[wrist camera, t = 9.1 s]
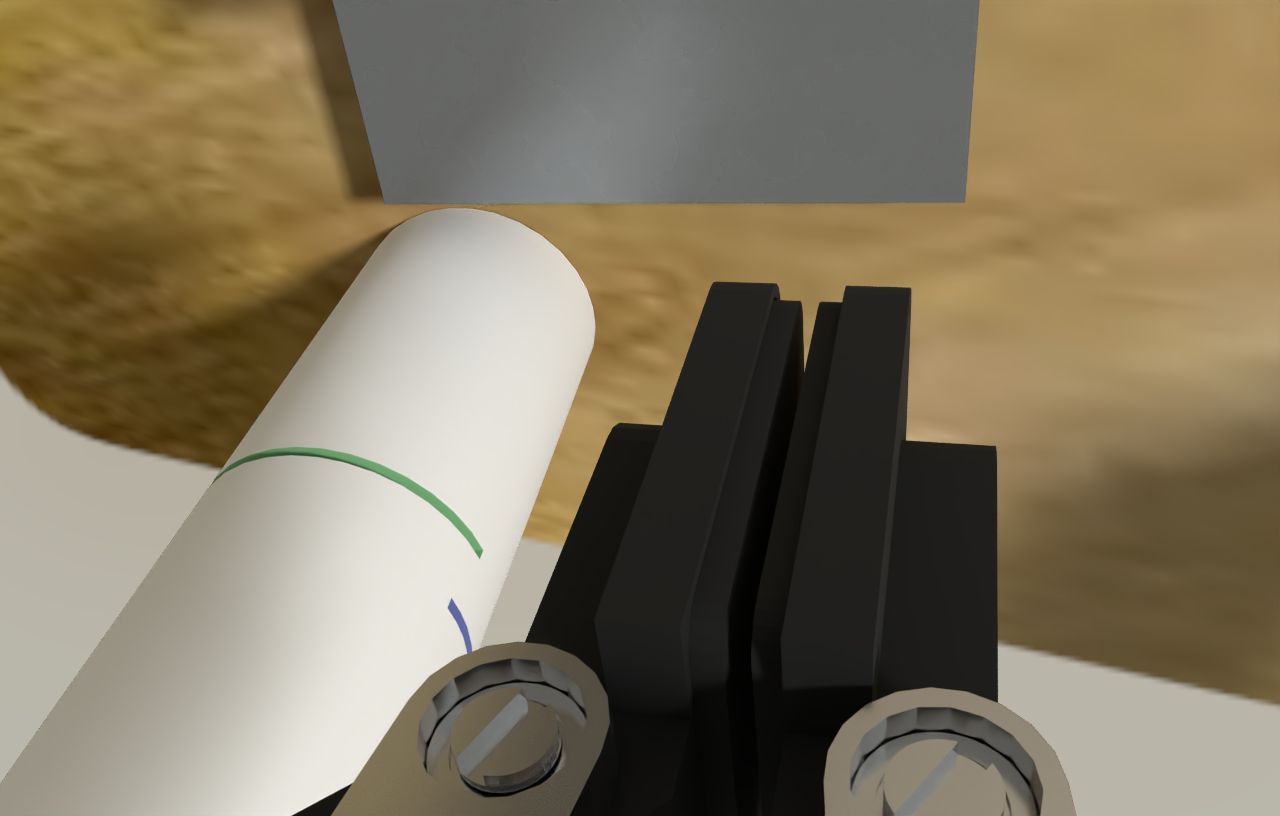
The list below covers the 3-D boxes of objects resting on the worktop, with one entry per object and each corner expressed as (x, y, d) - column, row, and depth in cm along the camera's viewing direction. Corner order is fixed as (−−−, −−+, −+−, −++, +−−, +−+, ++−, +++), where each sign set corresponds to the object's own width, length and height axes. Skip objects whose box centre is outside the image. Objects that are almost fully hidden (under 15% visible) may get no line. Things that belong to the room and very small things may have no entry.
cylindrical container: (404, 408, 39) (-106, 1330, 20) (336, 215, 35) (-400, 1147, 15) (614, 404, 37) (280, 1413, 18) (569, 200, 33) (66, 1232, 14)
